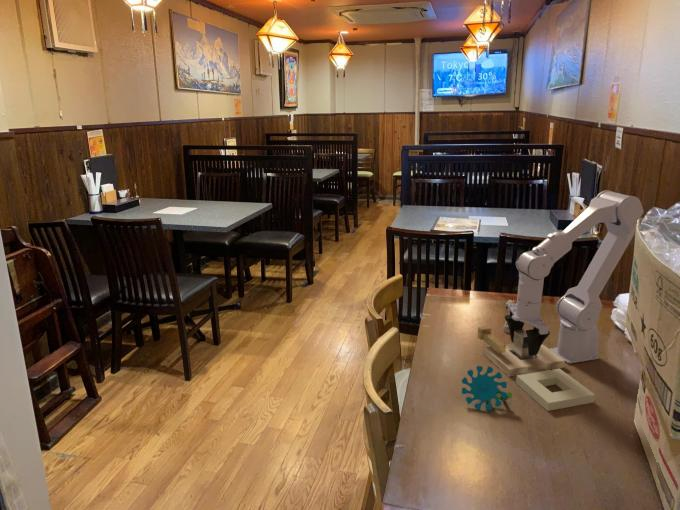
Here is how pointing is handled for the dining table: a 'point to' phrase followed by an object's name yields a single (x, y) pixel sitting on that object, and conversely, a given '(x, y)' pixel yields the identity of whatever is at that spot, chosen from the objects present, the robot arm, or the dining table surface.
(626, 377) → the dining table surface
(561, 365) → the socket block
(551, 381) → the cream square hole plate
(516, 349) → the peg
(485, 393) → the teal virus model
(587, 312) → the robot arm
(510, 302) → the adjustable wrench
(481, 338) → the tan headed bar
